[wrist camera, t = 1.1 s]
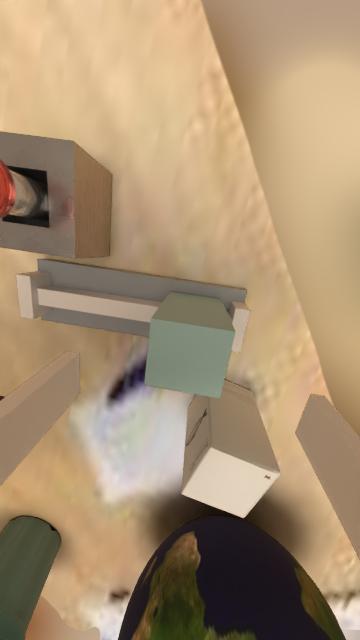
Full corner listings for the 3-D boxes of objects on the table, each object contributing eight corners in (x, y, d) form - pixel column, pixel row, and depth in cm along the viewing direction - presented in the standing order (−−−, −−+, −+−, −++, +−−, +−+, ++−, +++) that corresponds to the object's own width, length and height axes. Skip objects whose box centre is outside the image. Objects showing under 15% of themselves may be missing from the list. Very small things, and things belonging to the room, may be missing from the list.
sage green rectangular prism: (165, 332, 28) (144, 385, 17) (171, 289, 26) (150, 318, 15) (211, 339, 28) (219, 398, 17) (220, 297, 26) (235, 331, 15)
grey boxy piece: (41, 246, 28) (-19, 244, 20) (36, 164, 25) (-36, 126, 17) (109, 256, 28) (75, 258, 20) (112, 174, 25) (73, 140, 17)
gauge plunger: (23, 224, 22) (-57, 212, 15) (19, 173, 20) (-71, 135, 14) (66, 230, 22) (4, 221, 15) (64, 180, 20) (-4, 144, 13)
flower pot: (23, 496, 44) (-72, 628, 28) (86, 539, 46) (30, 682, 31) (-15, 528, 48) (-114, 657, 33) (45, 565, 51) (-22, 701, 36)
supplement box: (206, 370, 31) (211, 445, 19) (253, 390, 32) (285, 475, 20) (186, 408, 34) (178, 495, 22) (229, 426, 34) (245, 522, 22)
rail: (48, 316, 31) (21, 328, 26) (45, 258, 28) (14, 260, 24) (231, 345, 30) (237, 364, 25) (244, 288, 27) (254, 296, 23)
